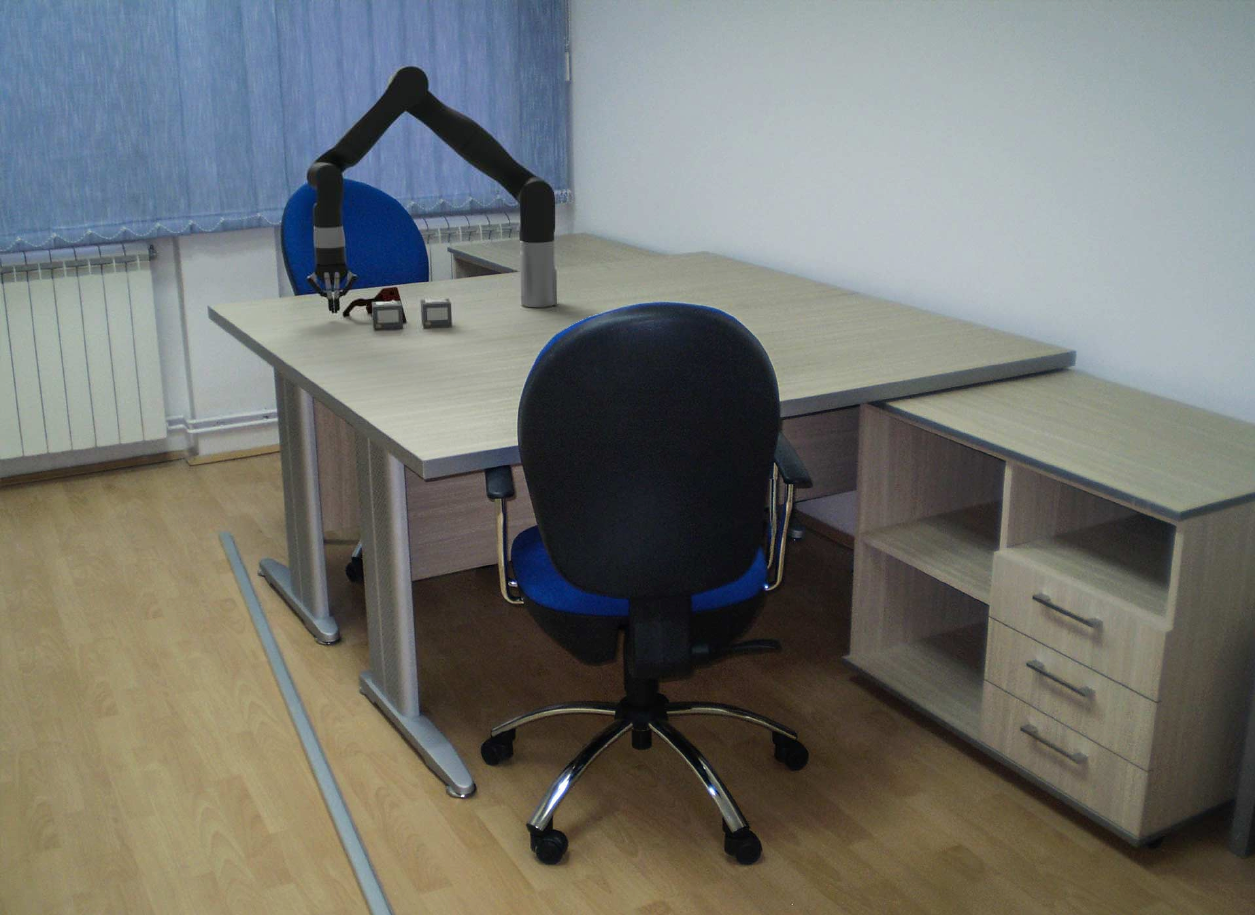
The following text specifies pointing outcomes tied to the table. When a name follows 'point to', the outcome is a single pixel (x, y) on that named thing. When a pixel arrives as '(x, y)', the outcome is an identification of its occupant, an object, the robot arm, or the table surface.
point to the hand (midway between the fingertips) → (334, 312)
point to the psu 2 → (436, 313)
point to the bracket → (382, 296)
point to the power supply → (387, 315)
